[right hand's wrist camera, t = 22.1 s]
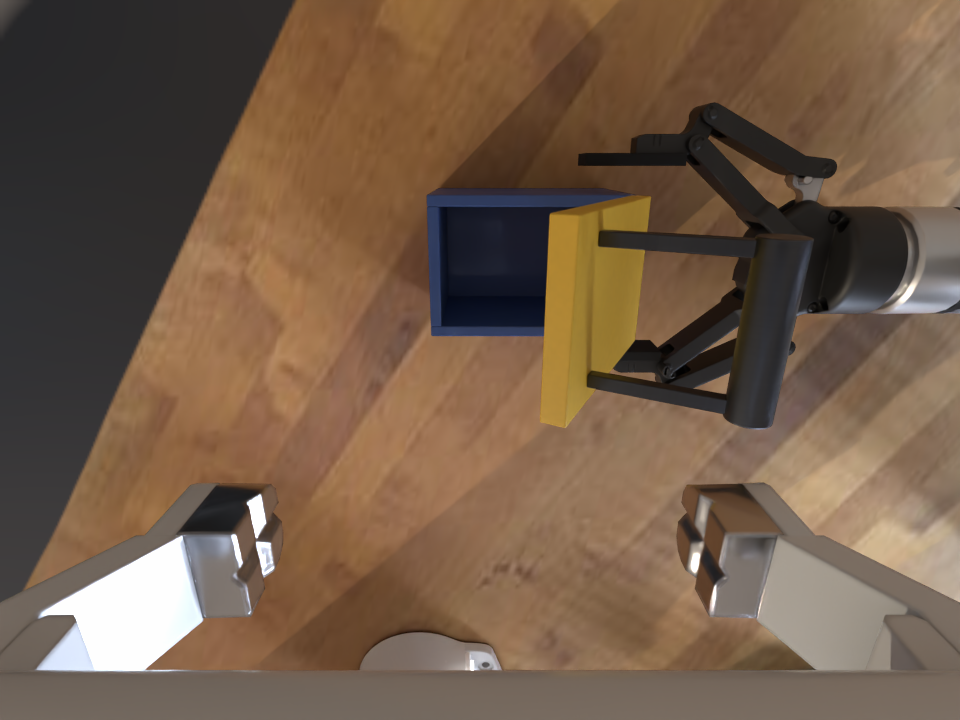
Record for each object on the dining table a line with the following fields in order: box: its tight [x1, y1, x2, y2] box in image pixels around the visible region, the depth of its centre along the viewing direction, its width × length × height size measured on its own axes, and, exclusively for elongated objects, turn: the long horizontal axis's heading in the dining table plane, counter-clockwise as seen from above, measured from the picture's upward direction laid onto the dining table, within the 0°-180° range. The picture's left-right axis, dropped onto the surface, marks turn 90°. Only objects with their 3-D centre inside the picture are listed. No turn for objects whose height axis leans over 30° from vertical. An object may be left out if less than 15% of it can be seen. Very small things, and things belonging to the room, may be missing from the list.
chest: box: [427, 188, 637, 336], centre depth 39 cm, size 13×9×10 cm
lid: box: [540, 196, 814, 429], centre depth 26 cm, size 14×9×9 cm
